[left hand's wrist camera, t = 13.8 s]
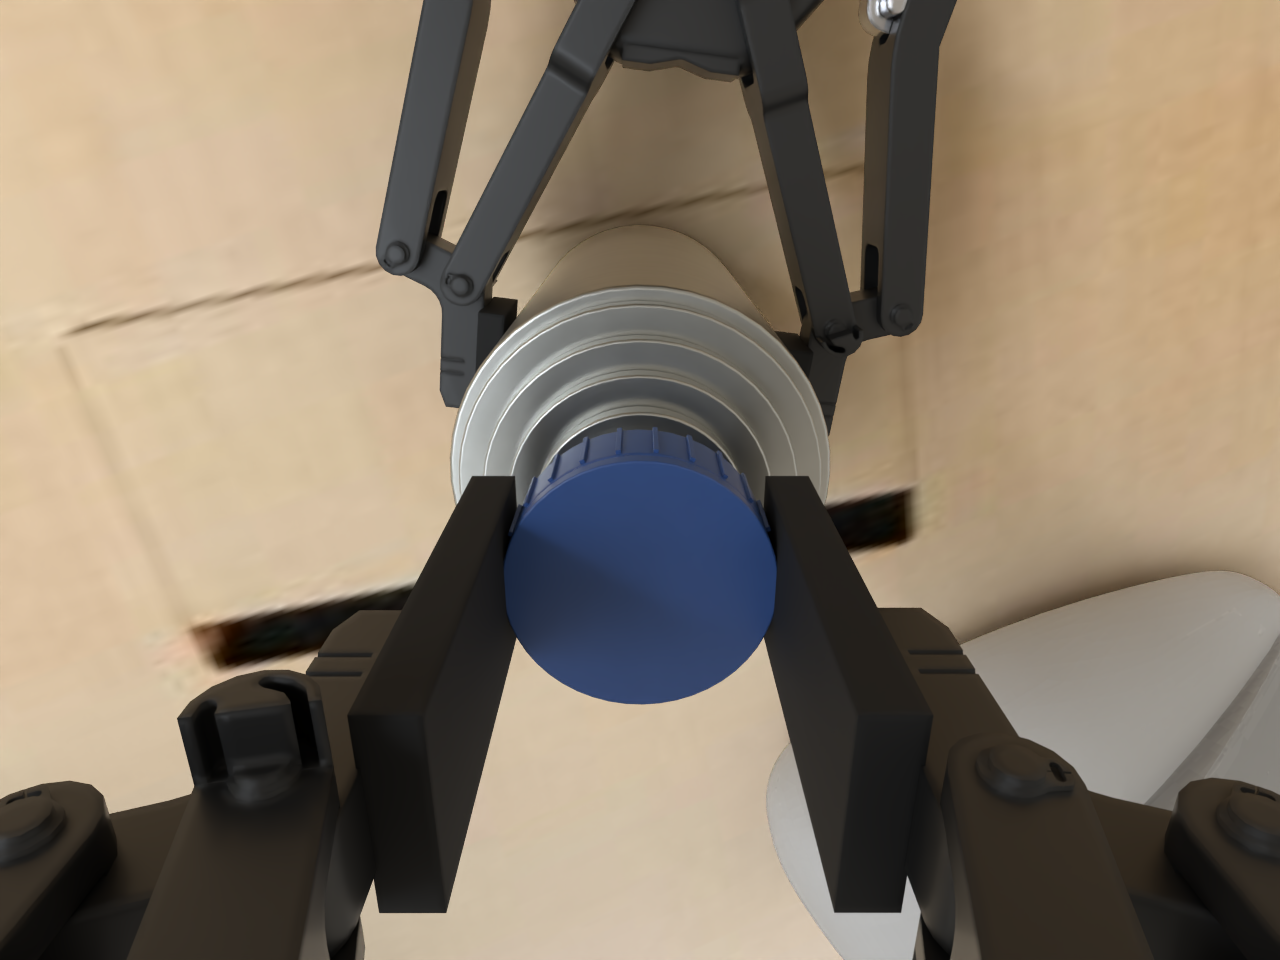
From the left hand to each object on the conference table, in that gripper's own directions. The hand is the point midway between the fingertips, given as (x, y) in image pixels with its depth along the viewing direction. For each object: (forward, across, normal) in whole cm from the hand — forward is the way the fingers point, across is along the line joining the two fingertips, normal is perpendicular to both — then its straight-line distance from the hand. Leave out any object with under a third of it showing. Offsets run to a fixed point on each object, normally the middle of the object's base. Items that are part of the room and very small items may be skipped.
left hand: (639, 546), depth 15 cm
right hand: (+12, -1, -5) cm, 13 cm away
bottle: (+18, 0, 0) cm, 18 cm away
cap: (-1, 0, 0) cm, 1 cm away
